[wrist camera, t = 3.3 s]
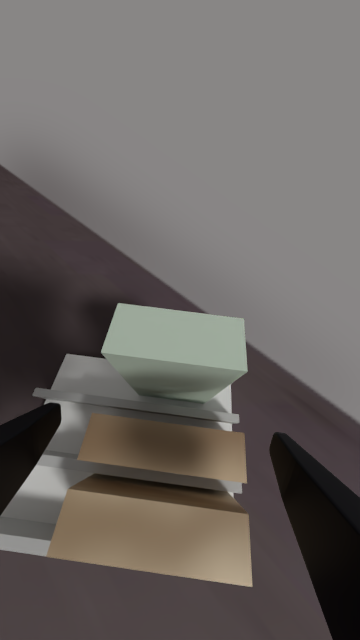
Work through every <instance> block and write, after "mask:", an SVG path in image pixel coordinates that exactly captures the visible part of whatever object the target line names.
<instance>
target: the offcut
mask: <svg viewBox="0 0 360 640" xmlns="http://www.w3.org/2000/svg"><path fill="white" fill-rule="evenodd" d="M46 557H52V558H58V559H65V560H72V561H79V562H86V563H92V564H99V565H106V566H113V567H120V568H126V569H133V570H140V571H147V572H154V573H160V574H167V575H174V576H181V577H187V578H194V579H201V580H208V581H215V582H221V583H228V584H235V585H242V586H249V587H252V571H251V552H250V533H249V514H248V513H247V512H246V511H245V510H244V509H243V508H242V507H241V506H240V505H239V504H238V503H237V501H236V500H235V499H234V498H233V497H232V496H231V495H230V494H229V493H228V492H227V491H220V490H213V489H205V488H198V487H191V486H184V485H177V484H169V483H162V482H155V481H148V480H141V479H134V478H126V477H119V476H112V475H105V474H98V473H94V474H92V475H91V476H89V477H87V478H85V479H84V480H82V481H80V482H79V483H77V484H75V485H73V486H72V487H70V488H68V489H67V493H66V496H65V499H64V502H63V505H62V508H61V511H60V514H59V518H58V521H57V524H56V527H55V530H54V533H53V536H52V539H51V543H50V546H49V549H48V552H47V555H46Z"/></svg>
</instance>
